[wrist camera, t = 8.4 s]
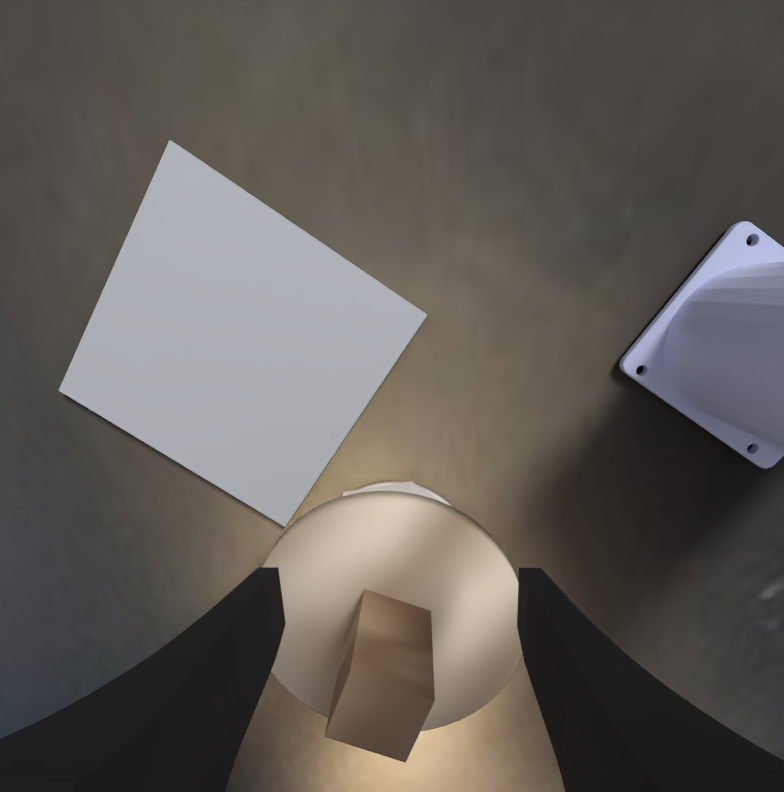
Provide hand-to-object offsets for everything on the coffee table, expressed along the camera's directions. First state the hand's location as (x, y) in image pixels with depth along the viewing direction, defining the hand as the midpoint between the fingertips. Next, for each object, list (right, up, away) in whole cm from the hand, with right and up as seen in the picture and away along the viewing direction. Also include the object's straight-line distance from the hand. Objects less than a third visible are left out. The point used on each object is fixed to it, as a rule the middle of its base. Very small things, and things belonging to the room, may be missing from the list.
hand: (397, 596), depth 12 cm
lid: (0, -4, +7) cm, 8 cm away
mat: (-8, +8, +9) cm, 15 cm away
